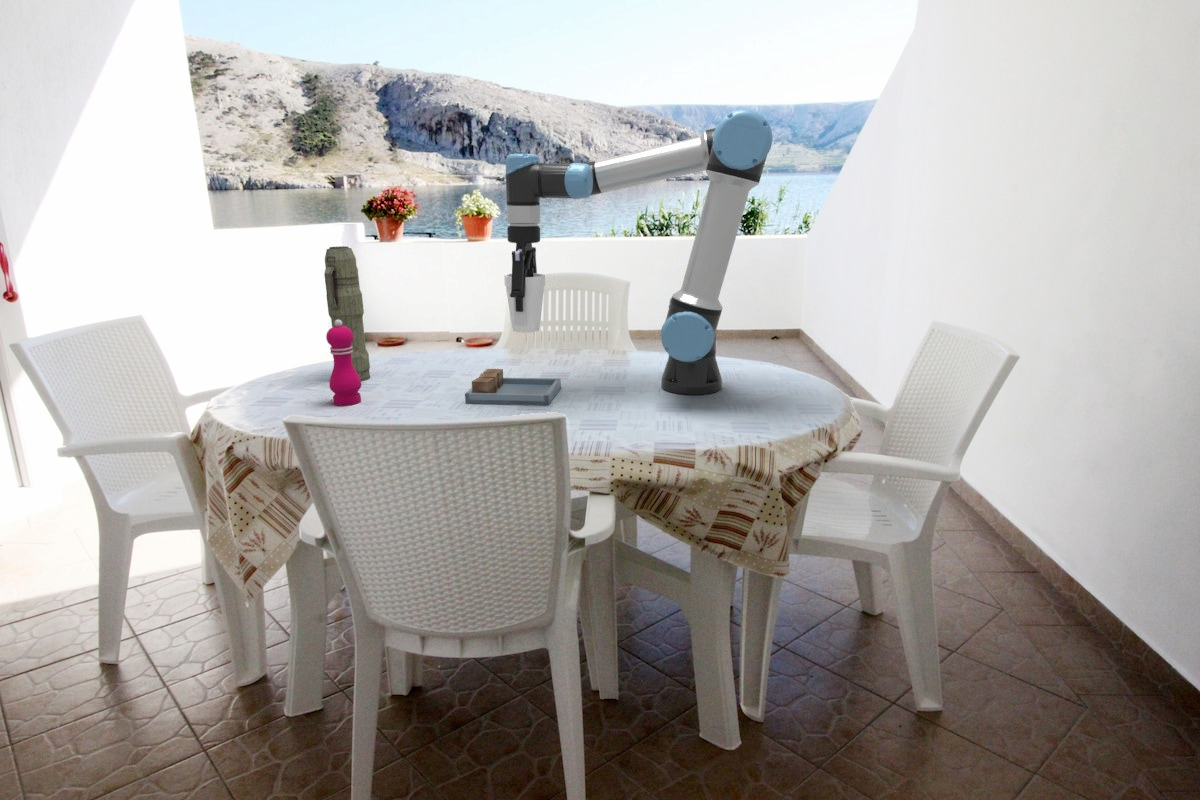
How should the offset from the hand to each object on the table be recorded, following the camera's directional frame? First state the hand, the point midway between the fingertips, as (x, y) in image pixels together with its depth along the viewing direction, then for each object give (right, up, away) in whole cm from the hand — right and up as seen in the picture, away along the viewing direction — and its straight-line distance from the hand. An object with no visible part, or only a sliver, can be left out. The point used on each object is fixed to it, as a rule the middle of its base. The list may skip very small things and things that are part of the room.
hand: (525, 321), depth 170 cm
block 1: (-10, -18, +1) cm, 21 cm away
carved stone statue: (-49, -13, +23) cm, 56 cm away
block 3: (-9, -15, +10) cm, 20 cm away
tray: (-3, -18, +5) cm, 19 cm away
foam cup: (0, -2, +1) cm, 2 cm away
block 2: (-10, -16, +6) cm, 20 cm away
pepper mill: (-43, -19, +1) cm, 47 cm away
